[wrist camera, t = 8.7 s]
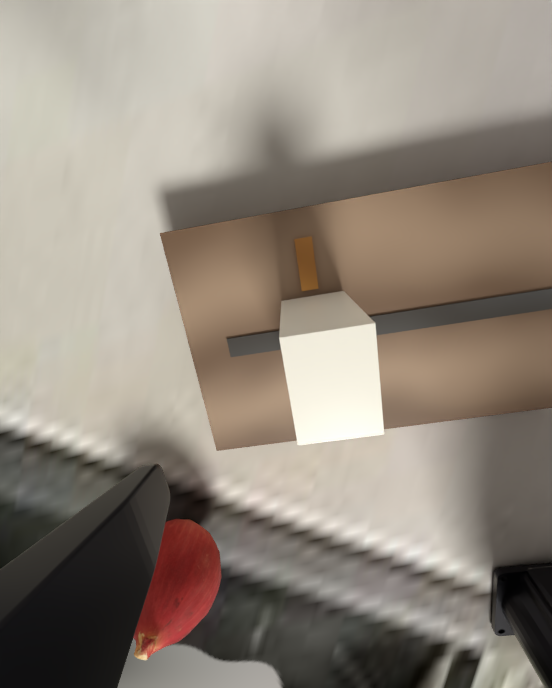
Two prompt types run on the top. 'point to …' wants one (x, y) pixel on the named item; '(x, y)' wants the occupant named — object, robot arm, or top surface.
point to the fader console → (379, 299)
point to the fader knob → (331, 368)
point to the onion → (178, 587)
